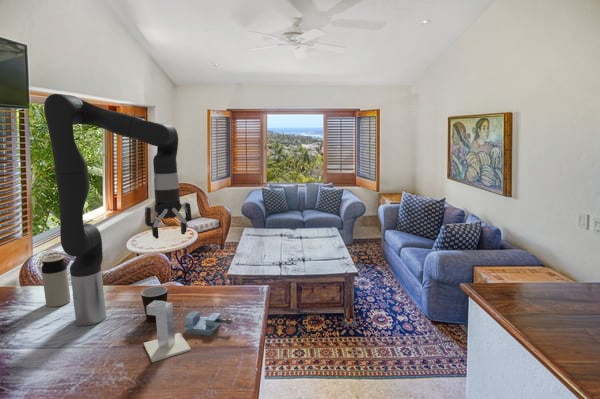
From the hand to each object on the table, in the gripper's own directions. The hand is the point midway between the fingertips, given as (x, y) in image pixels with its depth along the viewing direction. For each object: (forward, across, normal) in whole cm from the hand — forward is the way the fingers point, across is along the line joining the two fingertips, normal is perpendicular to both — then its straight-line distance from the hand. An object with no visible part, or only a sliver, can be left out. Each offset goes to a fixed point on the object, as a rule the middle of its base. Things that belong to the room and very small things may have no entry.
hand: (170, 236), depth 129 cm
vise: (+30, -8, +12) cm, 33 cm away
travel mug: (+30, +33, -40) cm, 60 cm away
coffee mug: (+30, +4, -7) cm, 31 cm away
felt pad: (+30, +7, +15) cm, 34 cm away
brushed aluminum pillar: (+29, +8, +16) cm, 35 cm away
